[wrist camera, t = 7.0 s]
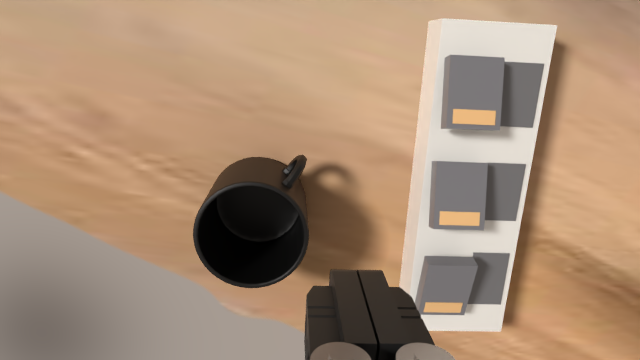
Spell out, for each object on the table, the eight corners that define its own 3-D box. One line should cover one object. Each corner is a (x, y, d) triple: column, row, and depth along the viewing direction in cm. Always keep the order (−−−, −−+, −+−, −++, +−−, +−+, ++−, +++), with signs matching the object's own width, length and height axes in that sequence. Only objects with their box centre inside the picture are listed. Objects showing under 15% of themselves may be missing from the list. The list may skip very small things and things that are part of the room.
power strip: (428, 21, 42) (443, 18, 38) (533, 27, 43) (558, 25, 39) (396, 308, 50) (405, 331, 46) (485, 310, 51) (501, 332, 47)
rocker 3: (424, 255, 43) (428, 265, 41) (472, 256, 43) (478, 266, 42) (414, 304, 45) (417, 315, 44) (459, 304, 46) (464, 315, 44)
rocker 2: (431, 160, 41) (437, 160, 40) (481, 162, 42) (488, 162, 40) (428, 226, 42) (433, 229, 40) (477, 227, 42) (484, 230, 41)
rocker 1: (444, 57, 39) (450, 54, 37) (497, 60, 39) (505, 57, 38) (440, 128, 39) (446, 128, 38) (492, 130, 40) (500, 130, 38)
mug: (340, 174, 46) (352, 203, 37) (268, 261, 48) (262, 308, 39) (265, 115, 44) (258, 132, 35) (192, 209, 46) (169, 247, 37)
